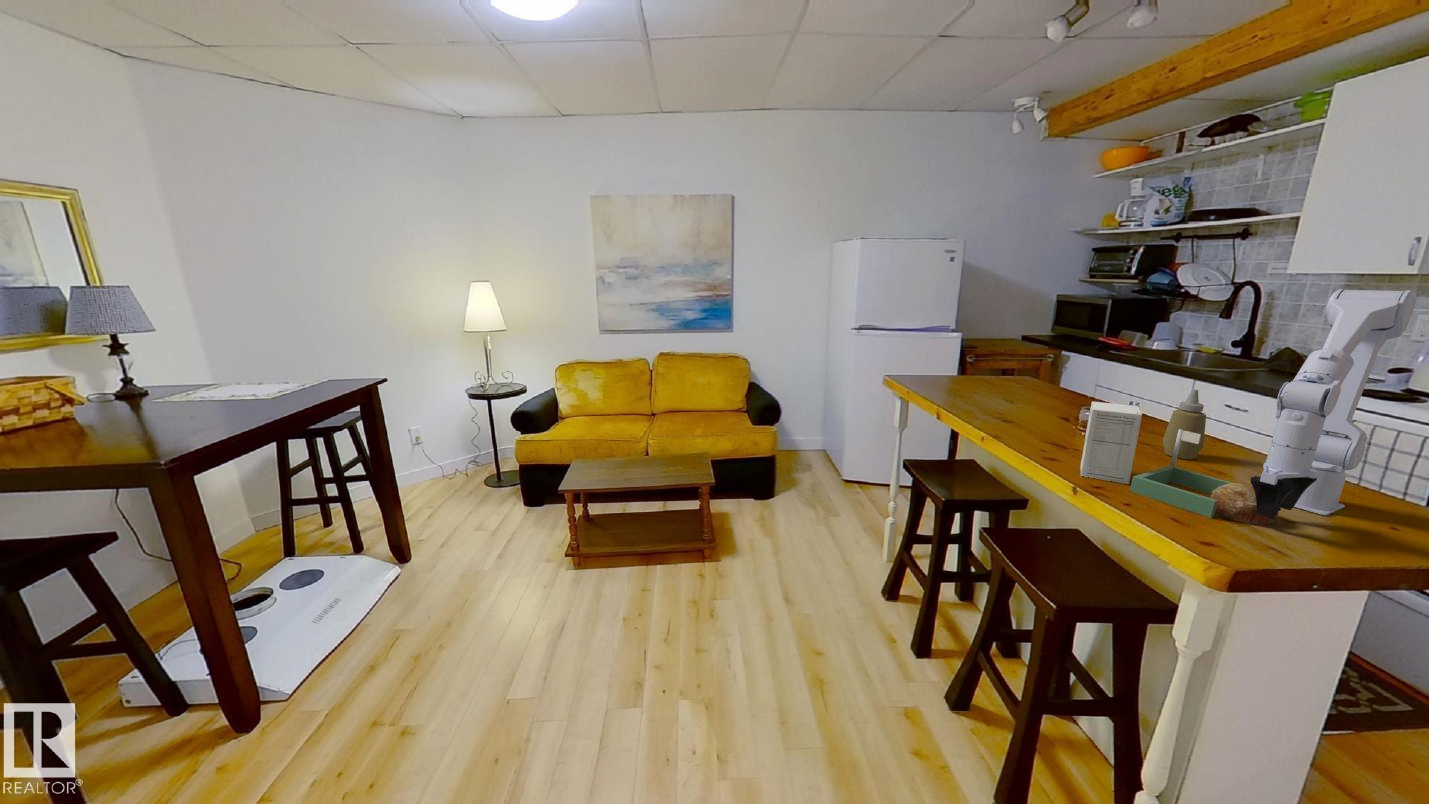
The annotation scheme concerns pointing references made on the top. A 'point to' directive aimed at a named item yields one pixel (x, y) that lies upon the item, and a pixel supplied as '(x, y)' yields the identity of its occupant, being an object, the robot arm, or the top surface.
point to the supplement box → (1110, 442)
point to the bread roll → (1239, 504)
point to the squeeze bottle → (1186, 427)
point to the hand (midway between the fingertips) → (1274, 511)
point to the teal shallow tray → (1179, 483)
